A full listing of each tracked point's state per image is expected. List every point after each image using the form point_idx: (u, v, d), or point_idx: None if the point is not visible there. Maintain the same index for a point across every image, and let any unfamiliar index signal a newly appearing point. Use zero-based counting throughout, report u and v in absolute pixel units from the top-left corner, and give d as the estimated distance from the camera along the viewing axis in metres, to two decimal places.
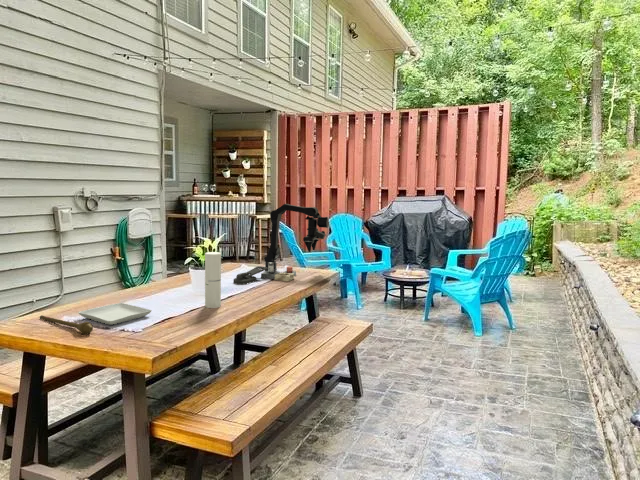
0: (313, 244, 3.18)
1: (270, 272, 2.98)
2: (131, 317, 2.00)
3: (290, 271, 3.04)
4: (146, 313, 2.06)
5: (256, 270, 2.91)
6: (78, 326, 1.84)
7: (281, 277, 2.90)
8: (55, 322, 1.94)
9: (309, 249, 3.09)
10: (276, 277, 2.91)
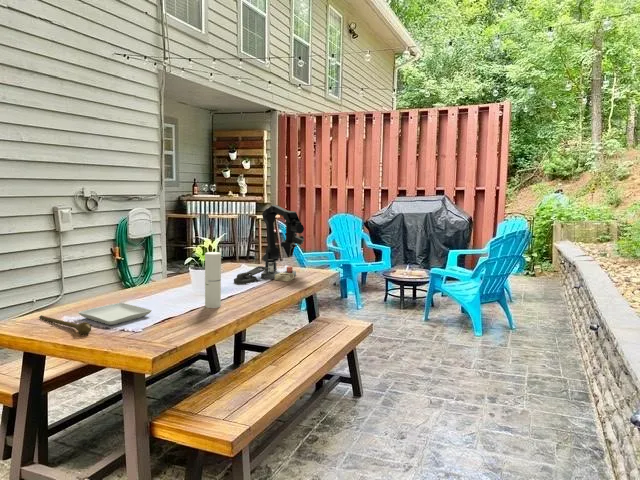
0: (290, 250, 3.07)
1: (270, 272, 2.98)
2: (131, 317, 2.00)
3: (290, 271, 3.04)
4: (146, 313, 2.06)
5: (257, 270, 2.91)
6: (76, 326, 1.83)
7: (281, 277, 2.90)
8: (54, 322, 1.94)
9: (288, 254, 3.02)
10: (276, 277, 2.91)
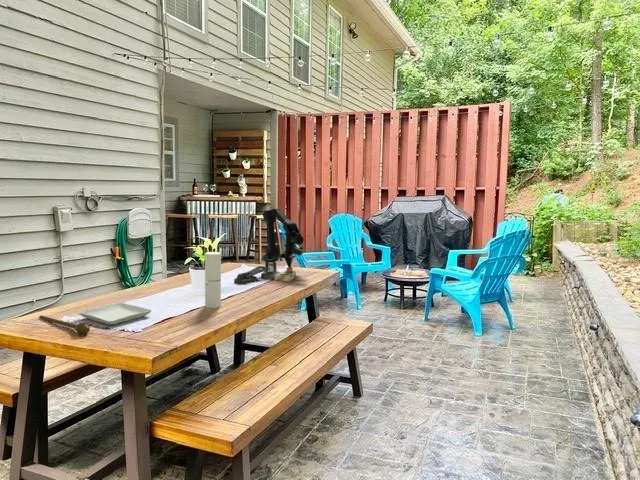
0: None
1: (270, 272, 2.98)
2: (131, 317, 2.00)
3: (290, 272, 3.04)
4: (146, 313, 2.06)
5: (257, 270, 2.92)
6: (75, 326, 1.83)
7: (281, 277, 2.90)
8: (54, 322, 1.94)
9: (289, 265, 3.05)
10: (276, 277, 2.91)
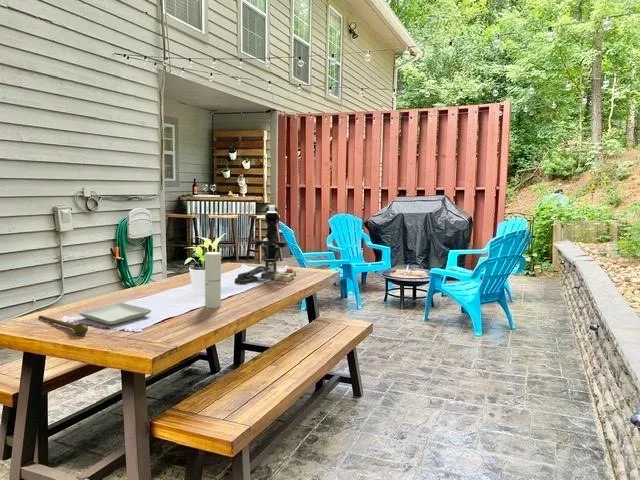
0: None
1: (270, 272, 2.98)
2: (131, 317, 2.00)
3: None
4: (146, 313, 2.06)
5: (257, 270, 2.92)
6: (73, 327, 1.83)
7: (281, 277, 2.90)
8: (52, 322, 1.94)
9: None
10: (276, 277, 2.91)
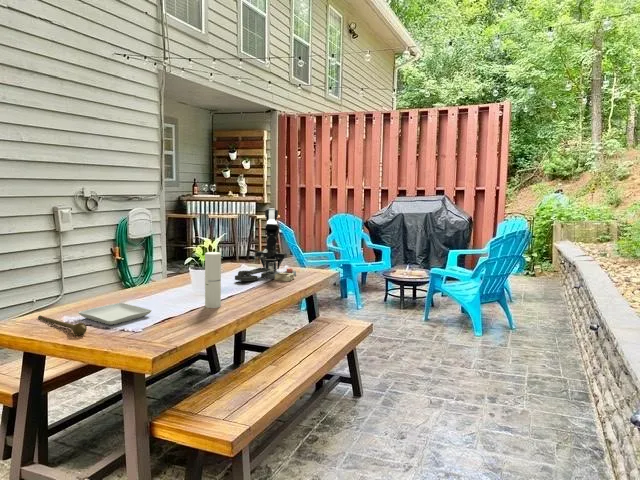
0: None
1: (270, 272, 2.98)
2: (131, 317, 2.00)
3: None
4: (146, 313, 2.06)
5: (258, 270, 2.93)
6: (72, 327, 1.82)
7: (281, 277, 2.90)
8: (52, 322, 1.94)
9: None
10: (276, 277, 2.91)
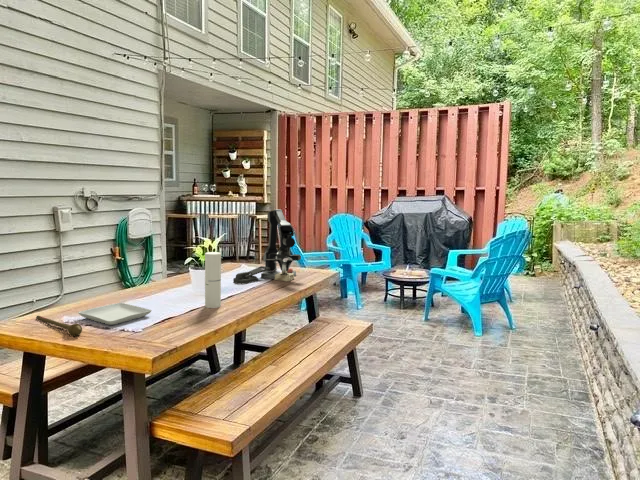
0: None
1: (284, 271, 2.92)
2: (131, 317, 2.00)
3: None
4: (146, 313, 2.06)
5: (258, 270, 2.92)
6: (68, 328, 1.81)
7: (281, 277, 2.90)
8: None
9: None
10: (276, 277, 2.91)
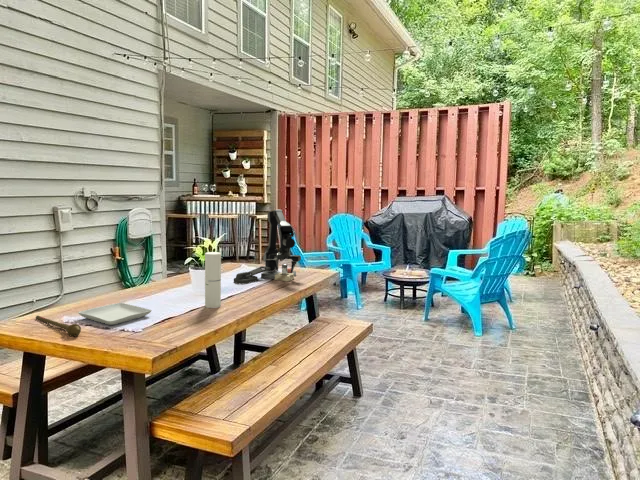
0: None
1: (284, 274, 2.92)
2: (131, 317, 2.00)
3: None
4: (146, 313, 2.06)
5: (258, 270, 2.92)
6: (66, 328, 1.81)
7: (281, 277, 2.90)
8: None
9: None
10: (276, 277, 2.91)
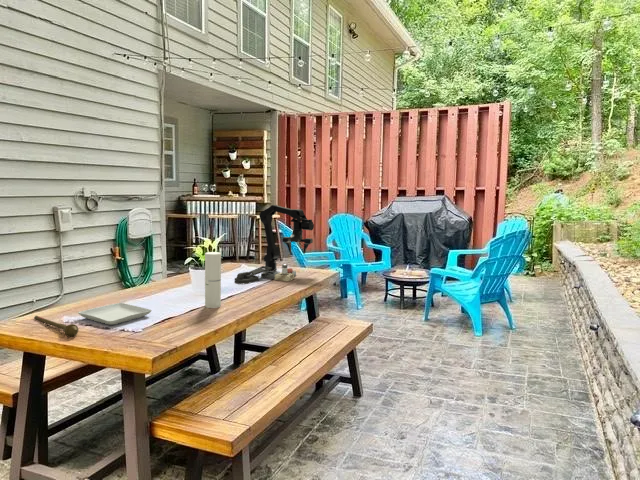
0: None
1: (284, 274, 2.92)
2: (131, 317, 2.00)
3: None
4: (146, 313, 2.06)
5: (259, 270, 2.92)
6: (64, 328, 1.81)
7: (281, 277, 2.90)
8: (46, 323, 1.93)
9: None
10: (276, 277, 2.91)
